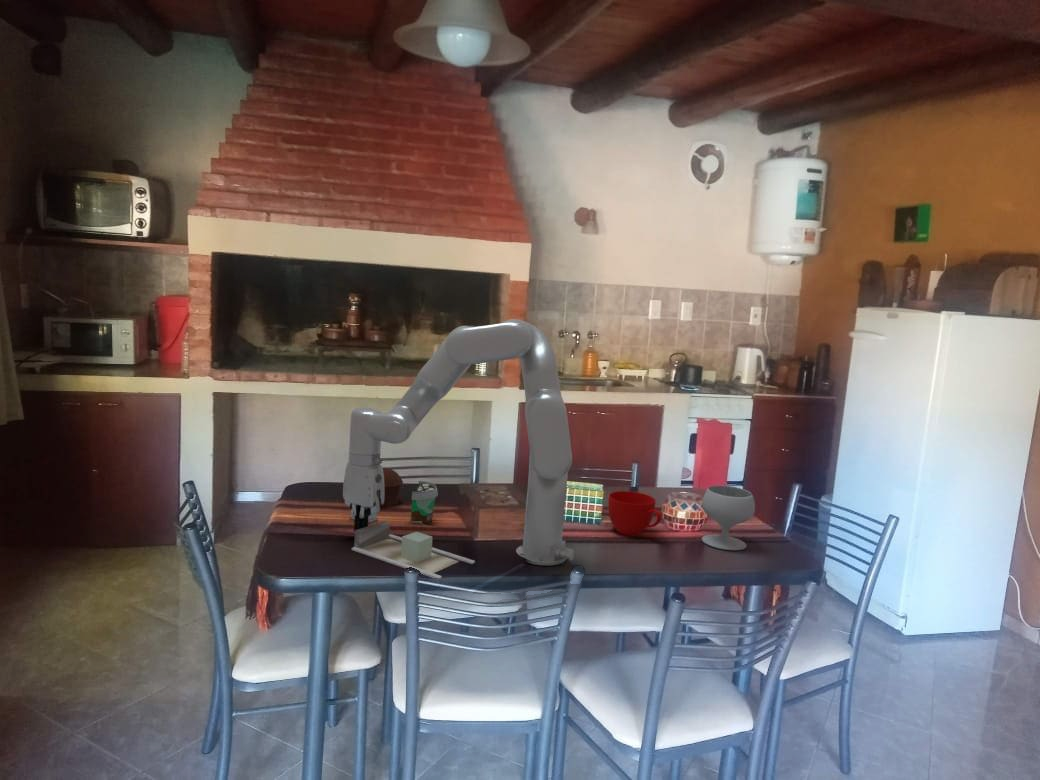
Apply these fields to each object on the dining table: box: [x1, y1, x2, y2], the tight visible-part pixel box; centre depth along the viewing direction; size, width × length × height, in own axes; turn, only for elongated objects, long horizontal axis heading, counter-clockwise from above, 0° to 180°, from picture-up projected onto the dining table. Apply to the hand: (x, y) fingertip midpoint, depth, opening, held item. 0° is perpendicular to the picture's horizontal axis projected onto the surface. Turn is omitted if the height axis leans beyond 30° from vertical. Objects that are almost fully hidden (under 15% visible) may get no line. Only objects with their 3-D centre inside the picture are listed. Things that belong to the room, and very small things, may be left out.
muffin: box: [379, 467, 404, 508], centre depth 222 cm, size 12×11×10 cm
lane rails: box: [351, 533, 476, 580], centre depth 180 cm, size 26×14×2 cm, turn 58°
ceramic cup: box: [607, 490, 662, 537], centre depth 212 cm, size 13×17×10 cm
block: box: [401, 531, 434, 563], centre depth 179 cm, size 5×5×5 cm
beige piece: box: [353, 520, 461, 574], centre depth 180 cm, size 24×10×5 cm, turn 58°
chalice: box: [701, 484, 756, 551], centre depth 209 cm, size 14×14×15 cm
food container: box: [410, 480, 439, 526], centre depth 207 cm, size 12×6×10 cm, turn 179°
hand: (360, 531), depth 188 cm, fingers closed
